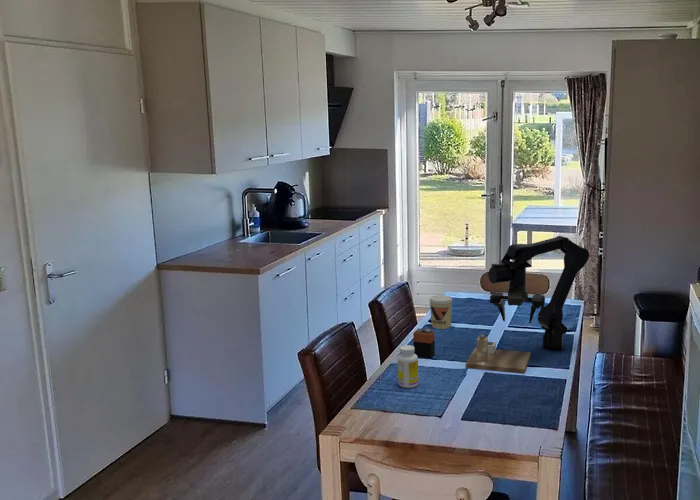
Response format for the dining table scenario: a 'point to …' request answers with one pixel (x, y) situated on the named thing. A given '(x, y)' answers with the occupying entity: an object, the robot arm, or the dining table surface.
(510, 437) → the dining table surface
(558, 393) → the dining table surface
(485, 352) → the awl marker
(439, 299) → the coffee cup
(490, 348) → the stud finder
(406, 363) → the supplement bottle
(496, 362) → the board
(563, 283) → the robot arm
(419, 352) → the battery
